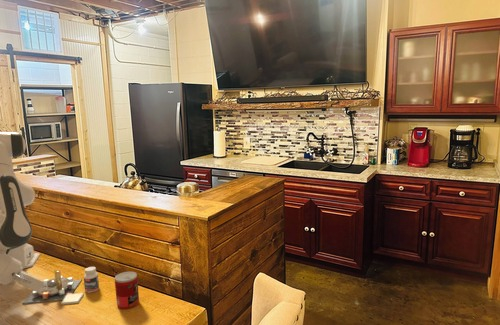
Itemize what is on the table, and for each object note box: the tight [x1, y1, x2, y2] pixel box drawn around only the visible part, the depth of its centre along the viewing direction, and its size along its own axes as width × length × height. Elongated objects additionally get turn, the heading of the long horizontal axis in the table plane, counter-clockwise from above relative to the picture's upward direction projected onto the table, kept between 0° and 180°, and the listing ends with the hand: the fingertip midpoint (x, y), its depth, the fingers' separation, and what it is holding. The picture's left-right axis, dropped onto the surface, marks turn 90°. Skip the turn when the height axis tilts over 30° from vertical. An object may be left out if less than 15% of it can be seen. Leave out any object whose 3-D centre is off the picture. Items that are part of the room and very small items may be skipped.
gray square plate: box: [22, 279, 82, 305], centre depth 141 cm, size 16×17×1 cm
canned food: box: [114, 271, 140, 310], centre depth 129 cm, size 8×8×11 cm
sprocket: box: [31, 269, 74, 299], centre depth 140 cm, size 15×15×9 cm
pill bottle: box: [83, 266, 100, 293], centre depth 141 cm, size 5×5×9 cm
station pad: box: [60, 292, 84, 306], centre depth 134 cm, size 6×6×1 cm
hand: (40, 285), depth 132 cm, fingers closed
